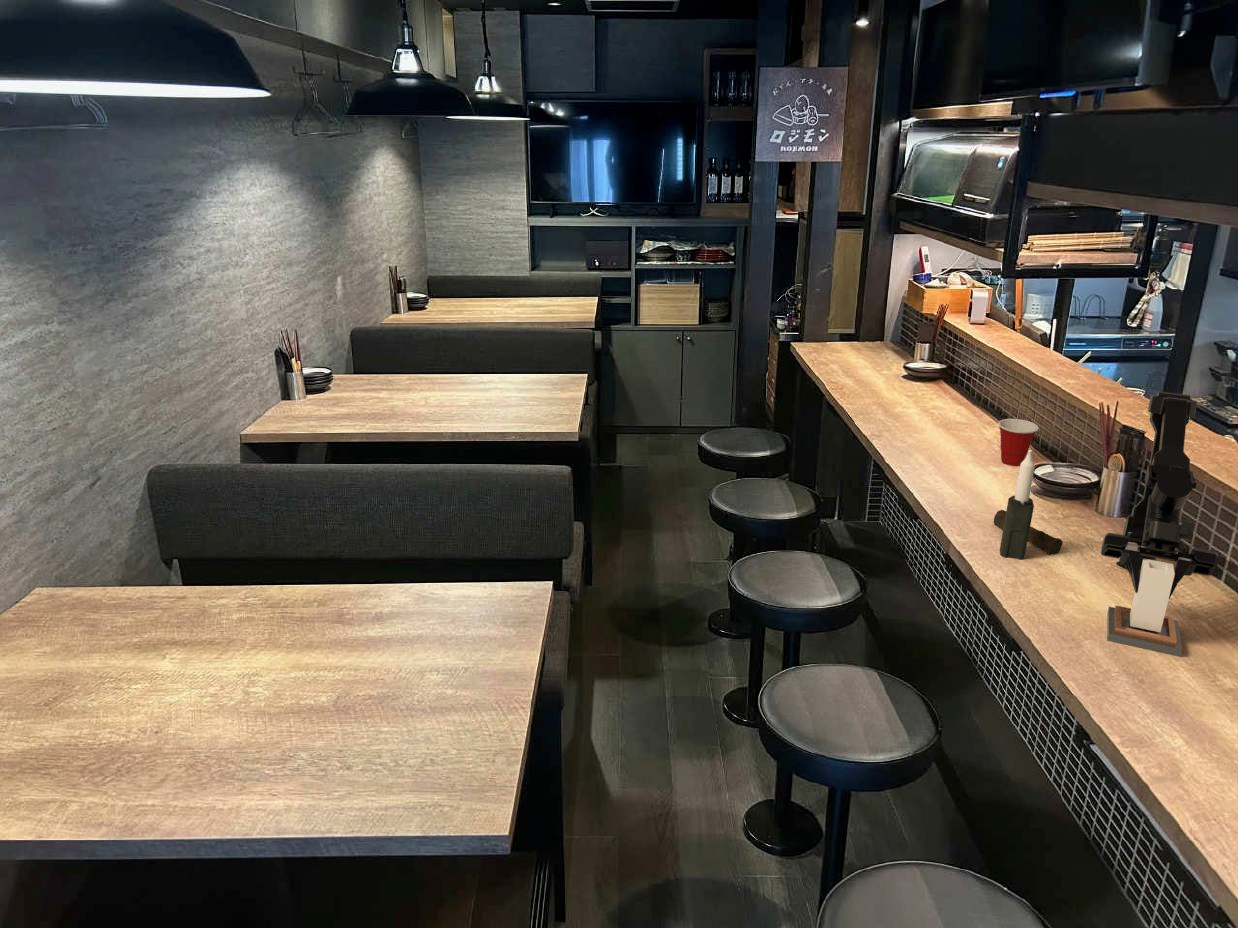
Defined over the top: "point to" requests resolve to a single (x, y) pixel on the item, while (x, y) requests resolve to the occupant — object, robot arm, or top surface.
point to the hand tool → (1034, 536)
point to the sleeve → (1152, 595)
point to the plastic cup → (1015, 440)
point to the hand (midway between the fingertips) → (1152, 595)
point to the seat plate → (1143, 633)
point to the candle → (1019, 514)
